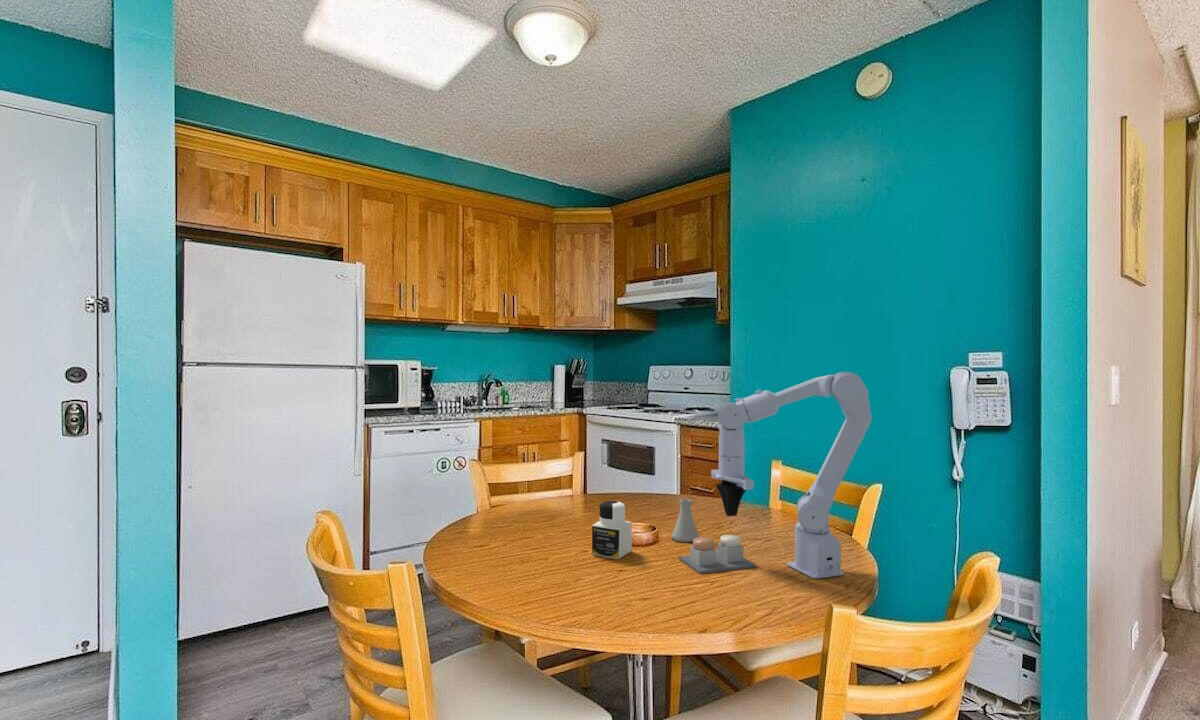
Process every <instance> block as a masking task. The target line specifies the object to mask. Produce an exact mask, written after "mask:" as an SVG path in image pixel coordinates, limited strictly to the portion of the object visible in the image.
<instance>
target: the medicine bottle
mask: <svg viewBox="0 0 1200 720" xmlns="http://www.w3.org/2000/svg"><path fill="white" fill-rule="evenodd" d="M598 516H599V521H597V522H594V523H593V524H592V526H591V529H592V530H591V531H592V533H591V534H592V535H591V554H592V555H593V556H597V557H598V556H599V557H604V558H607V559H608V558H609V559H613V560H615V559H616V560H619V559H621V558H623V557H624V556H626V555H627V554H629V553H630V552H632V539H633V538H632V531H633V530H632V529H633V528H632V527H633V526H632V521H629V520H628V521H627V520H626V505H625V504H624V502H623V503H622V501H619V500H606V501H603V502H601V503H600V504H599V515H598Z"/></svg>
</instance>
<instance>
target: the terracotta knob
mask: <svg viewBox="0 0 1200 720" xmlns="http://www.w3.org/2000/svg"><path fill="white" fill-rule="evenodd" d="M692 546H693V547H694V548H695V549H698V550H711V549H713V548H714V540H713V539H711V538H708V537H699V538H695V539H693V542H692Z"/></svg>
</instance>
